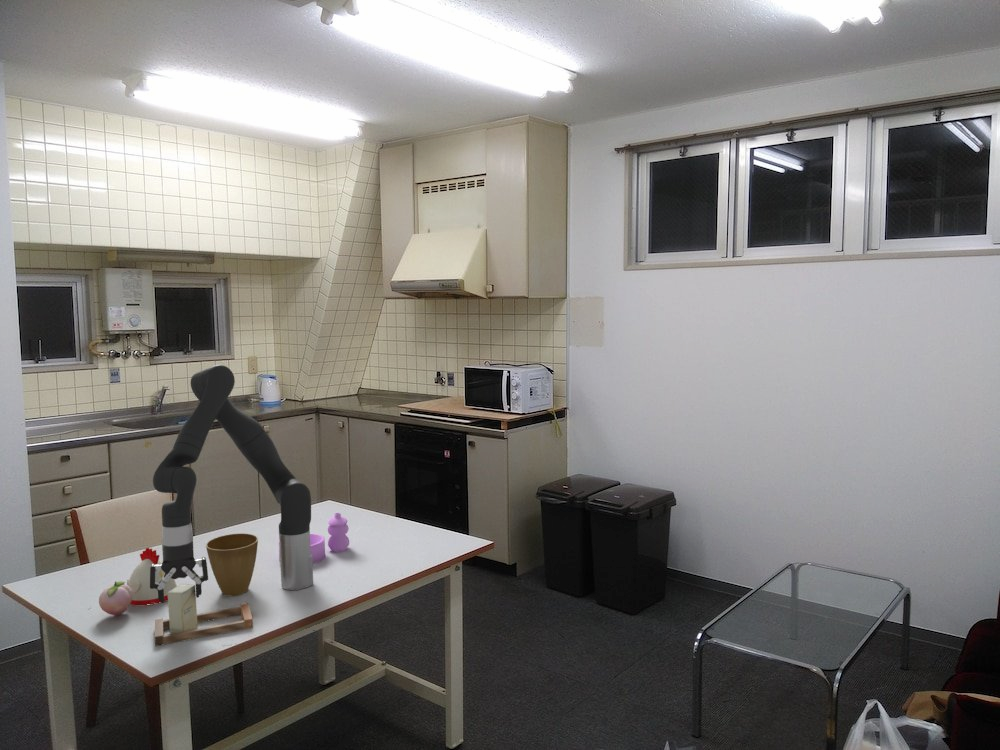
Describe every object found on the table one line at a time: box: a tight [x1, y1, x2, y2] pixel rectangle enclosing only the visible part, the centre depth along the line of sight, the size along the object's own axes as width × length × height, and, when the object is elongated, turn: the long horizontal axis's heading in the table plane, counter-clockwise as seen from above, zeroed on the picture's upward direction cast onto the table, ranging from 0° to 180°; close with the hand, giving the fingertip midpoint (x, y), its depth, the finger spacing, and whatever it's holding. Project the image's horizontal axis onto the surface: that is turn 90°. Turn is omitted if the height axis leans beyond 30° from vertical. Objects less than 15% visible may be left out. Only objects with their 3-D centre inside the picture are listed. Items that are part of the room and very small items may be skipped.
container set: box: [278, 512, 350, 565], centre depth 255 cm, size 25×15×13 cm, turn 128°
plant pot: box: [205, 532, 259, 597], centre depth 223 cm, size 15×15×16 cm
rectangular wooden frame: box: [154, 603, 254, 647], centre depth 198 cm, size 24×11×2 cm, turn 115°
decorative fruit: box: [98, 580, 133, 617], centre depth 207 cm, size 9×8×10 cm
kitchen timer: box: [126, 547, 177, 606], centre depth 220 cm, size 14×14×15 cm
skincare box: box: [167, 583, 199, 634], centre depth 196 cm, size 6×4×12 cm
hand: (180, 599), depth 196 cm, fingers open, 8 cm apart
